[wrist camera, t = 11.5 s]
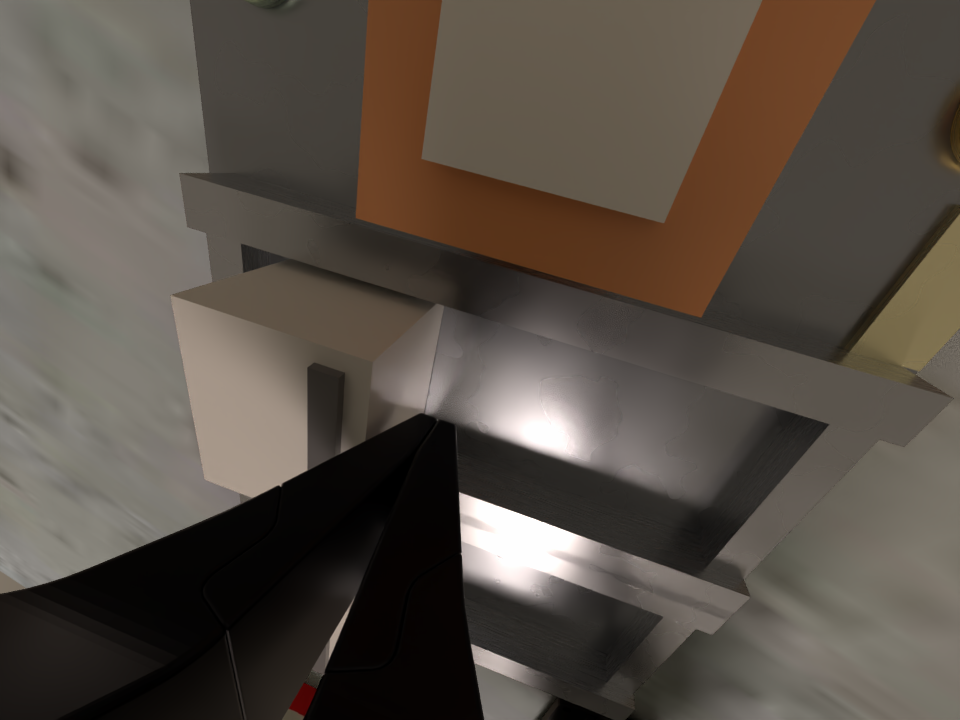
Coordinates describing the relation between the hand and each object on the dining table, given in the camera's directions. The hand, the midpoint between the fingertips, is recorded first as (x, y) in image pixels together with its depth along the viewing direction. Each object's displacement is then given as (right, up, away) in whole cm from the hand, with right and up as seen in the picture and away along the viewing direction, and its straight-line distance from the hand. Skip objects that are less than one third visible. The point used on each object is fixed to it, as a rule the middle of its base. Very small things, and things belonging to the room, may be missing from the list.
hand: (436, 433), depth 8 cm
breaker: (-2, +2, +3) cm, 4 cm away
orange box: (+3, +7, -1) cm, 7 cm away
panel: (+2, +1, +5) cm, 5 cm away
